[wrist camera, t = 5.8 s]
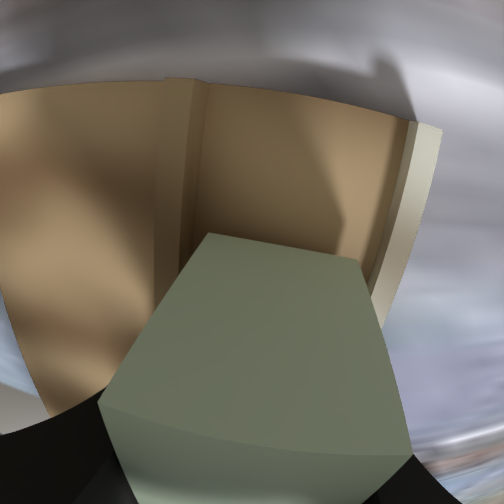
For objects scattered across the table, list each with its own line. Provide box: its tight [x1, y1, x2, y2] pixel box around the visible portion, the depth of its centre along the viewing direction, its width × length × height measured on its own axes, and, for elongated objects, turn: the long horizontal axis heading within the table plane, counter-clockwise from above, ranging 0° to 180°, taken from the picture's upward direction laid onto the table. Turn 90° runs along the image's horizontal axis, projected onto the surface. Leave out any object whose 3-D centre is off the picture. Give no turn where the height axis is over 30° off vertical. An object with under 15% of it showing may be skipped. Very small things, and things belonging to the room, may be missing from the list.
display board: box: [0, 78, 443, 418], centre depth 14 cm, size 24×18×3 cm
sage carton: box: [98, 232, 413, 504], centre depth 8 cm, size 7×5×6 cm, turn 172°
